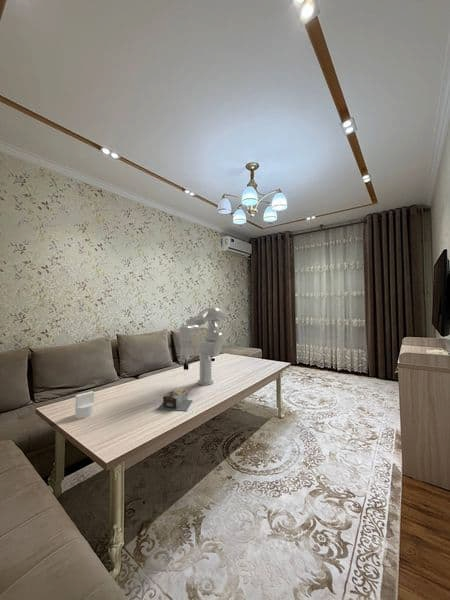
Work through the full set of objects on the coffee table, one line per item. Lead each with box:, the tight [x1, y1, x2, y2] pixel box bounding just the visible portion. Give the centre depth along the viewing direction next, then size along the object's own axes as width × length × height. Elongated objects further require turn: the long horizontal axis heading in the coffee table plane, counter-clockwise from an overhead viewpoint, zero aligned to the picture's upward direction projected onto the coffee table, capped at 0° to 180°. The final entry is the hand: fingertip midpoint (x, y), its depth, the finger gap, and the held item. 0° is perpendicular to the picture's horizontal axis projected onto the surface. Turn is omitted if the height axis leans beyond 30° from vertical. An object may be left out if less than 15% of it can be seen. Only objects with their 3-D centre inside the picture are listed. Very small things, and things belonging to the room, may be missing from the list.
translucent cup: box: [74, 390, 95, 419], centre depth 139 cm, size 9×9×12 cm
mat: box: [156, 399, 193, 412], centre depth 154 cm, size 16×18×1 cm
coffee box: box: [162, 387, 189, 409], centre depth 156 cm, size 9×6×16 cm
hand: (186, 369), depth 173 cm, fingers closed
